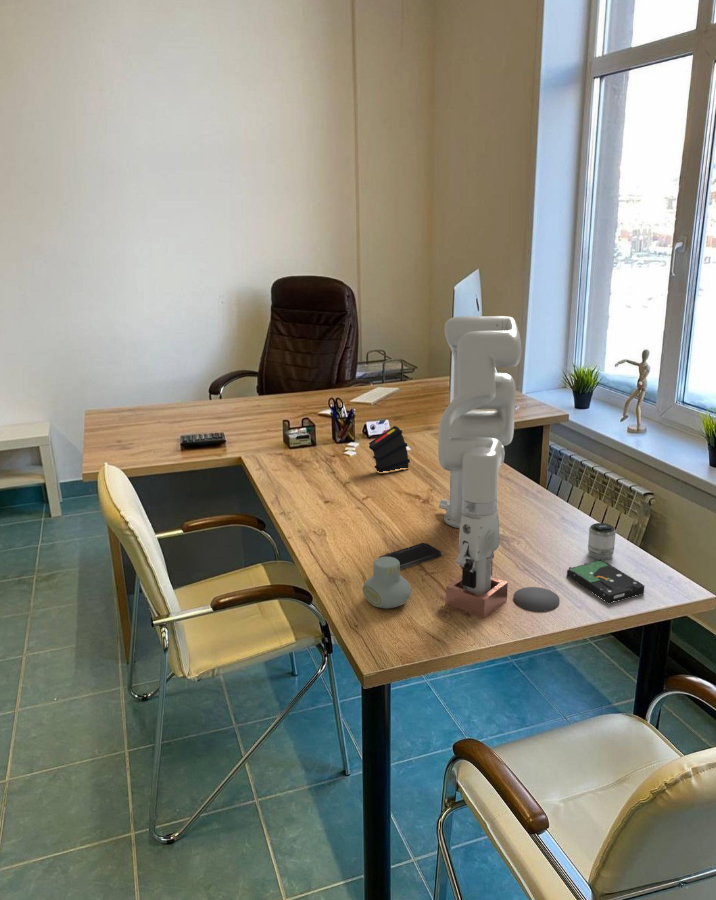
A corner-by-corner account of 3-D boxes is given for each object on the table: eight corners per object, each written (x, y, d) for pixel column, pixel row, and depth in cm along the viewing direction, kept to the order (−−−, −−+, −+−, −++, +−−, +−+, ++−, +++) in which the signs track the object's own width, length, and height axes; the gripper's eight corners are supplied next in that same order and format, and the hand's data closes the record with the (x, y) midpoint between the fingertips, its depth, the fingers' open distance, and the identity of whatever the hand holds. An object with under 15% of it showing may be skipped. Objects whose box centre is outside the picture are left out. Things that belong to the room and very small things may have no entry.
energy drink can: (465, 594, 174) (466, 533, 170) (491, 597, 173) (493, 536, 168) (461, 607, 169) (462, 545, 164) (488, 610, 167) (490, 548, 163)
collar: (445, 604, 170) (446, 586, 169) (469, 587, 177) (470, 569, 176) (484, 618, 164) (484, 599, 163) (507, 600, 171) (507, 582, 170)
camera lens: (618, 559, 189) (620, 529, 187) (594, 561, 188) (596, 532, 186) (606, 548, 195) (608, 519, 193) (583, 550, 194) (585, 522, 192)
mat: (505, 601, 171) (505, 599, 171) (527, 584, 178) (527, 582, 178) (546, 616, 164) (546, 614, 164) (567, 597, 172) (567, 595, 172)
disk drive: (644, 596, 173) (599, 568, 186) (645, 585, 172) (600, 557, 185) (608, 606, 169) (565, 577, 182) (609, 595, 168) (566, 566, 181)
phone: (443, 552, 193) (394, 568, 186) (443, 557, 194) (394, 572, 186) (424, 542, 199) (376, 556, 192) (424, 545, 200) (376, 560, 192)
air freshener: (358, 598, 174) (356, 558, 171) (386, 587, 179) (386, 548, 175) (387, 618, 166) (386, 576, 162) (416, 606, 170) (416, 565, 167)
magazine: (418, 463, 255) (400, 427, 248) (386, 485, 252) (367, 449, 245) (412, 460, 258) (395, 424, 251) (381, 482, 255) (362, 446, 248)
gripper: (472, 522, 155) (470, 601, 161) (514, 496, 167) (511, 570, 173) (441, 513, 160) (441, 590, 165) (485, 489, 172) (482, 561, 178)
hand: (477, 579), depth 169 cm, fingers closed on energy drink can, 6 cm apart
